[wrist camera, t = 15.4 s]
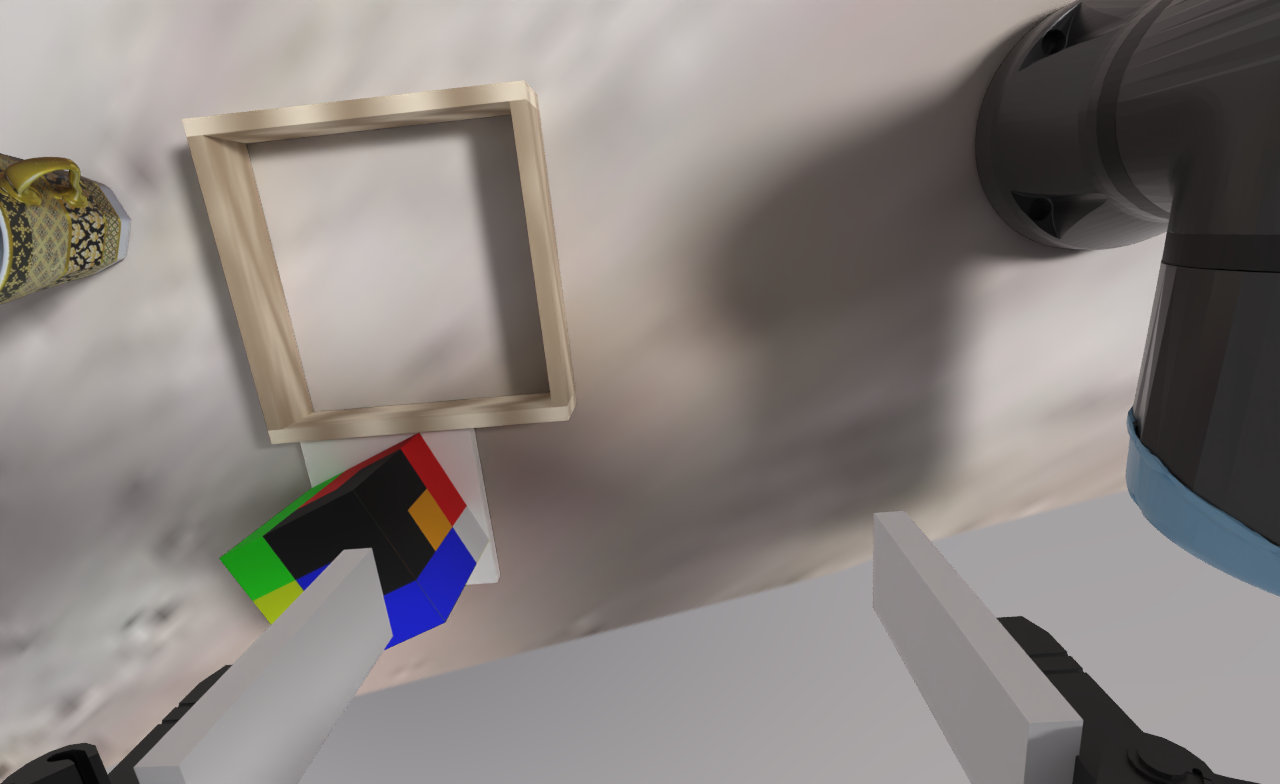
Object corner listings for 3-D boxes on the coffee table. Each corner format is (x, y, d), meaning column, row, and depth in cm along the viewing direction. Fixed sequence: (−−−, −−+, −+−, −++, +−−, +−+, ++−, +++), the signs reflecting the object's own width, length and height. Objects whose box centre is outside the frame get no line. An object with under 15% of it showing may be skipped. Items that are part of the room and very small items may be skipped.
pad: (473, 424, 45) (469, 428, 44) (500, 575, 49) (497, 582, 48) (307, 437, 46) (299, 442, 45) (345, 585, 49) (339, 593, 48)
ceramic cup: (75, 317, 44) (-88, 343, 34) (-17, 186, 42) (-219, 175, 32) (218, 241, 42) (88, 247, 32) (131, 100, 40) (-37, 61, 30)
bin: (537, 94, 39) (523, 80, 35) (576, 403, 44) (568, 420, 41) (227, 128, 40) (181, 119, 36) (304, 425, 46) (271, 444, 42)
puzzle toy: (489, 540, 47) (445, 622, 37) (384, 590, 48) (315, 681, 39) (419, 432, 44) (352, 490, 35) (311, 488, 46) (219, 558, 36)
